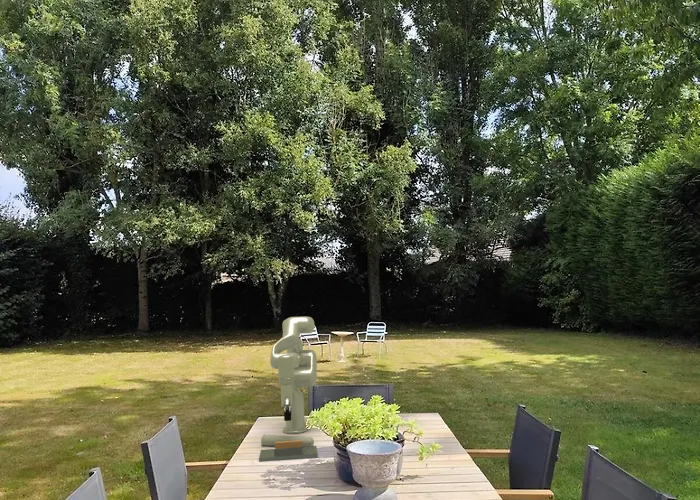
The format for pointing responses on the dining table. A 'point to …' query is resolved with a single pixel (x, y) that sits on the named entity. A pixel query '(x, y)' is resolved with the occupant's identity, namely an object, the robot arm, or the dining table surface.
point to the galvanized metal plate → (288, 453)
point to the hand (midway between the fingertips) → (287, 418)
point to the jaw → (288, 444)
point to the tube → (271, 439)
